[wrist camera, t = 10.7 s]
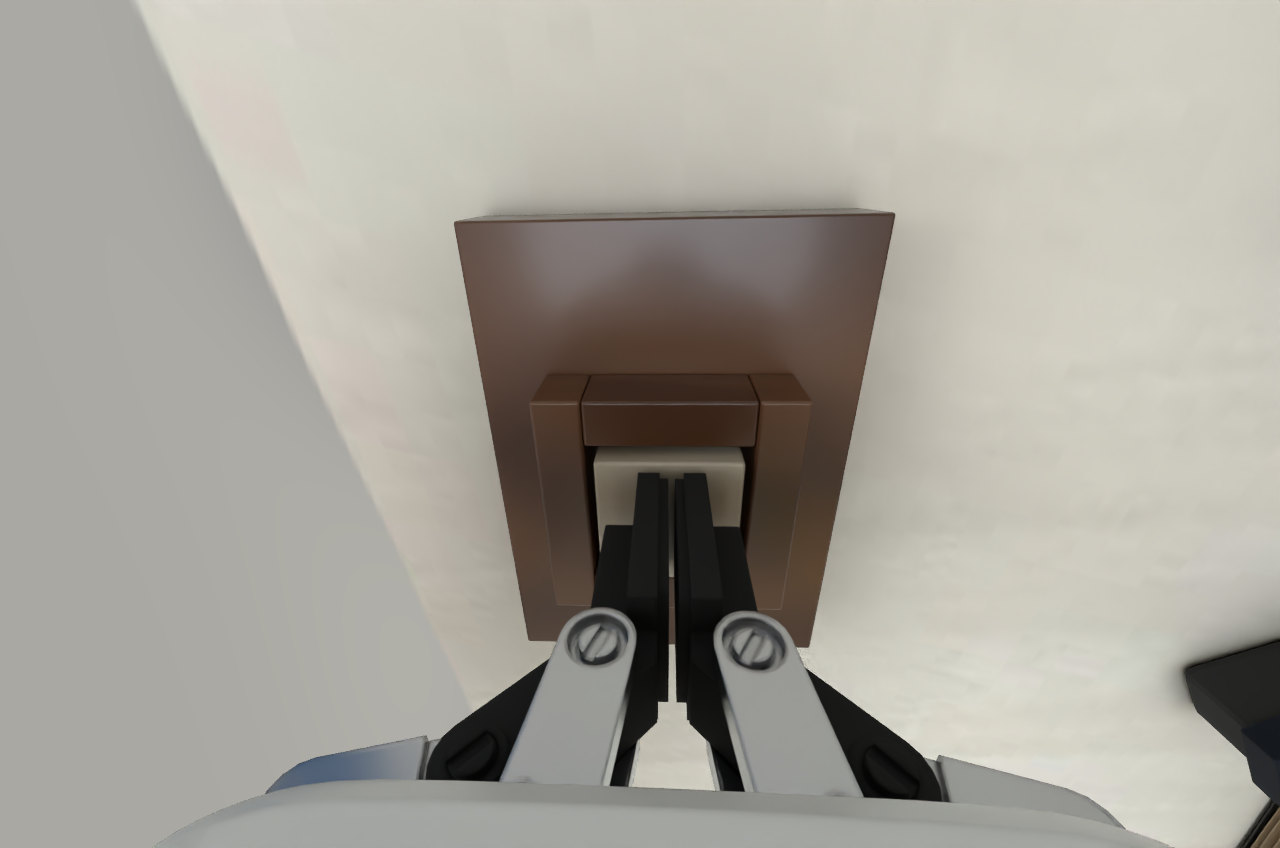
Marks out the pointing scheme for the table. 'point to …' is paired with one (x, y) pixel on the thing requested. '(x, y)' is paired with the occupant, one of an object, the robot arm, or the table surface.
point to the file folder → (1266, 830)
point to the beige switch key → (620, 482)
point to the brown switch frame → (673, 376)
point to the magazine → (1245, 708)
